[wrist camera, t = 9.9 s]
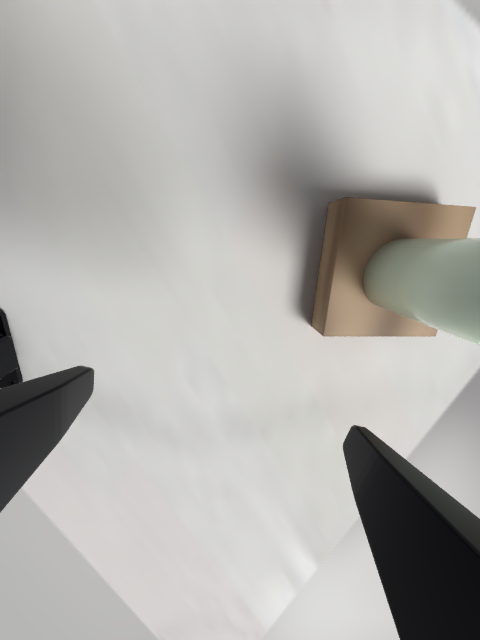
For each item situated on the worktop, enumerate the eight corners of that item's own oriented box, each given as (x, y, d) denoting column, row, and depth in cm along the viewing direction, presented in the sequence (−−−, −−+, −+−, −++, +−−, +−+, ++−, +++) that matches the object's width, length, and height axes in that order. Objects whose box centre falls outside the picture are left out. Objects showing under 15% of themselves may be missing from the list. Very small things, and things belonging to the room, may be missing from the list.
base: (311, 326, 21) (323, 336, 19) (328, 203, 18) (346, 197, 16) (412, 326, 23) (435, 336, 20) (444, 211, 20) (476, 207, 17)
